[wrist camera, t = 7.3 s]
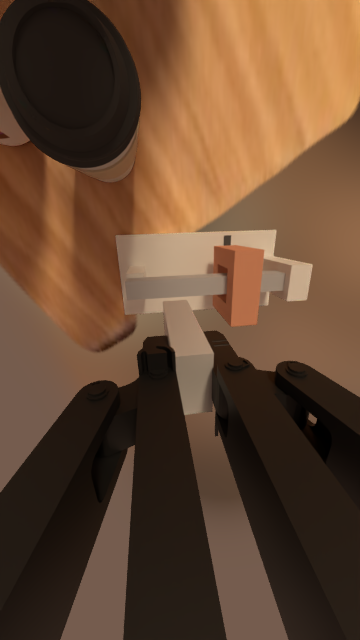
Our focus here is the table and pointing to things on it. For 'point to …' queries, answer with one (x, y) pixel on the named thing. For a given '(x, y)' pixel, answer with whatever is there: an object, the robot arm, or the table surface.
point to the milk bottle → (9, 126)
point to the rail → (198, 269)
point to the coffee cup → (71, 85)
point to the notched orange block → (239, 283)
